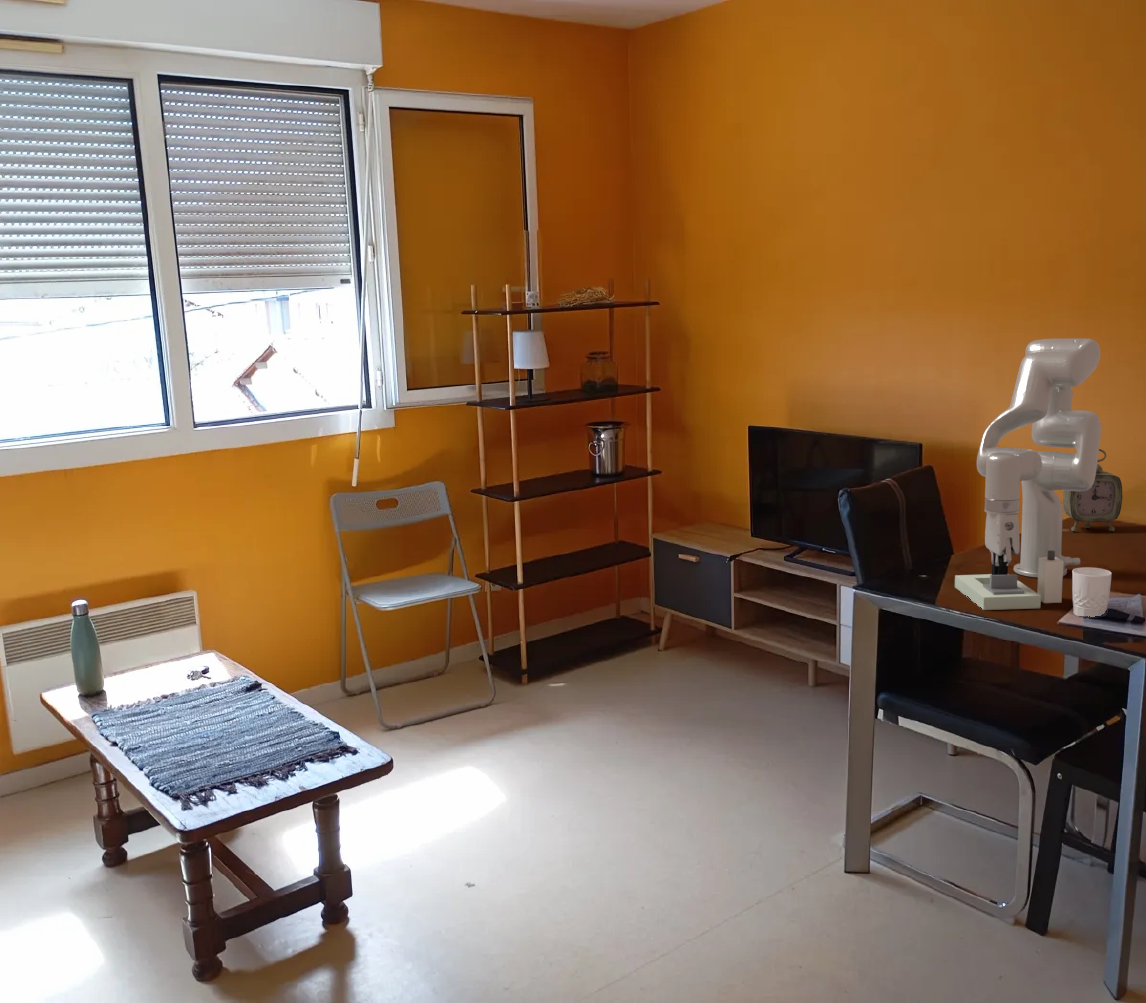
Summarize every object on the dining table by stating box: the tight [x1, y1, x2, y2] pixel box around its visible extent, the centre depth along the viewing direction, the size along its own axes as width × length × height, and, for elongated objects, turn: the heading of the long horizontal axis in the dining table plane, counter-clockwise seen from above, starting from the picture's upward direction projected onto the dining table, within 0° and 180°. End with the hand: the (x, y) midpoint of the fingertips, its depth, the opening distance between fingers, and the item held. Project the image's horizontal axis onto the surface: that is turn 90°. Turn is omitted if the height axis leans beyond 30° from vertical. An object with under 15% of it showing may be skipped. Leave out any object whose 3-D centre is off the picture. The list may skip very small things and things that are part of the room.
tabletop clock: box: [1062, 448, 1123, 532], centre depth 312 cm, size 14×9×25 cm, turn 80°
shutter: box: [983, 573, 1024, 594], centre depth 245 cm, size 7×7×4 cm
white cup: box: [1071, 566, 1113, 617], centre depth 233 cm, size 8×8×10 cm
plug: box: [1036, 550, 1064, 604], centre depth 245 cm, size 4×4×12 cm
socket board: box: [954, 573, 1042, 611], centre depth 250 cm, size 13×20×3 cm, turn 178°
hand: (999, 581), depth 247 cm, fingers closed
